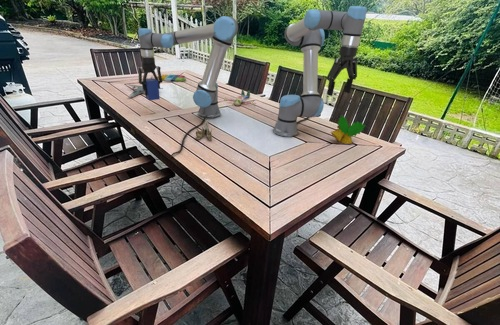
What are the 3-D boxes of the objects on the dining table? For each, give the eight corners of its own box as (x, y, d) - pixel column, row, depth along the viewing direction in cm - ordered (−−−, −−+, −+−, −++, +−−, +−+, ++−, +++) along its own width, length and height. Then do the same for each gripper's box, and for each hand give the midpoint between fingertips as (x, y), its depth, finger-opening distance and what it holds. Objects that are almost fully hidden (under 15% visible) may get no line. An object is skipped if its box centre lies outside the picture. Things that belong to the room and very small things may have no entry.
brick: (156, 96, 176) (154, 78, 170) (159, 99, 171) (157, 80, 166) (145, 97, 173) (143, 79, 167) (149, 100, 168) (146, 81, 162)
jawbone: (214, 123, 159) (213, 113, 150) (213, 145, 152) (211, 136, 143) (199, 123, 159) (196, 113, 150) (197, 144, 152) (194, 135, 143)
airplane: (122, 88, 234) (120, 76, 229) (158, 85, 247) (157, 74, 242) (127, 100, 206) (124, 88, 201) (167, 97, 219) (166, 85, 214)
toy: (261, 91, 228) (254, 99, 202) (261, 99, 231) (253, 108, 205) (231, 87, 233) (220, 95, 207) (230, 95, 236) (219, 104, 210)
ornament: (349, 145, 167) (356, 122, 165) (358, 147, 159) (366, 123, 158) (324, 137, 159) (331, 113, 157) (333, 139, 151) (341, 114, 149)
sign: (184, 80, 268) (154, 78, 265) (184, 82, 269) (154, 80, 266) (187, 75, 290) (160, 74, 287) (187, 76, 291) (160, 75, 288)
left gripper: (161, 55, 167) (164, 91, 179) (129, 56, 157) (134, 94, 168) (166, 57, 162) (169, 94, 173) (132, 58, 151) (138, 97, 163)
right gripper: (358, 45, 126) (347, 89, 136) (324, 45, 113) (315, 94, 123) (372, 47, 121) (360, 93, 131) (338, 47, 107) (328, 98, 118)
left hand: (152, 94), depth 171 cm, fingers closed on brick, 7 cm apart
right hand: (338, 93), depth 127 cm, fingers open, 13 cm apart
